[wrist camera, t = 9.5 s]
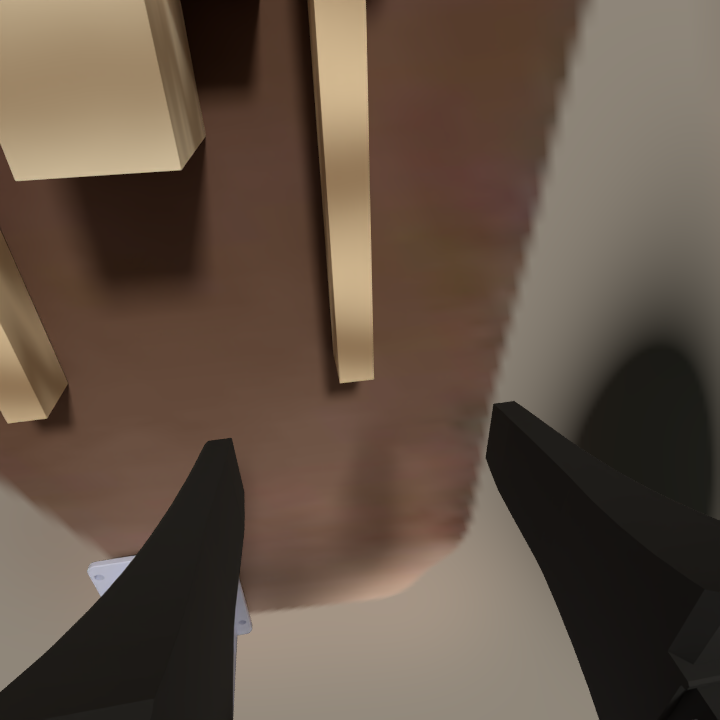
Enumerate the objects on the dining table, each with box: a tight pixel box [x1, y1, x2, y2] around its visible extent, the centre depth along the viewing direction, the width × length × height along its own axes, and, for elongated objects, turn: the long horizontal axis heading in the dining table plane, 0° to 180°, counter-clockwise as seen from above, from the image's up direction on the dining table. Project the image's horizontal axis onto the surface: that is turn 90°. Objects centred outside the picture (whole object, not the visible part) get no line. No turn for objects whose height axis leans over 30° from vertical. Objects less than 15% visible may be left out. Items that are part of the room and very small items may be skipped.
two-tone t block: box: [0, 0, 206, 181], centre depth 13 cm, size 7×9×6 cm
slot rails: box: [0, 0, 374, 423], centre depth 17 cm, size 16×15×2 cm
